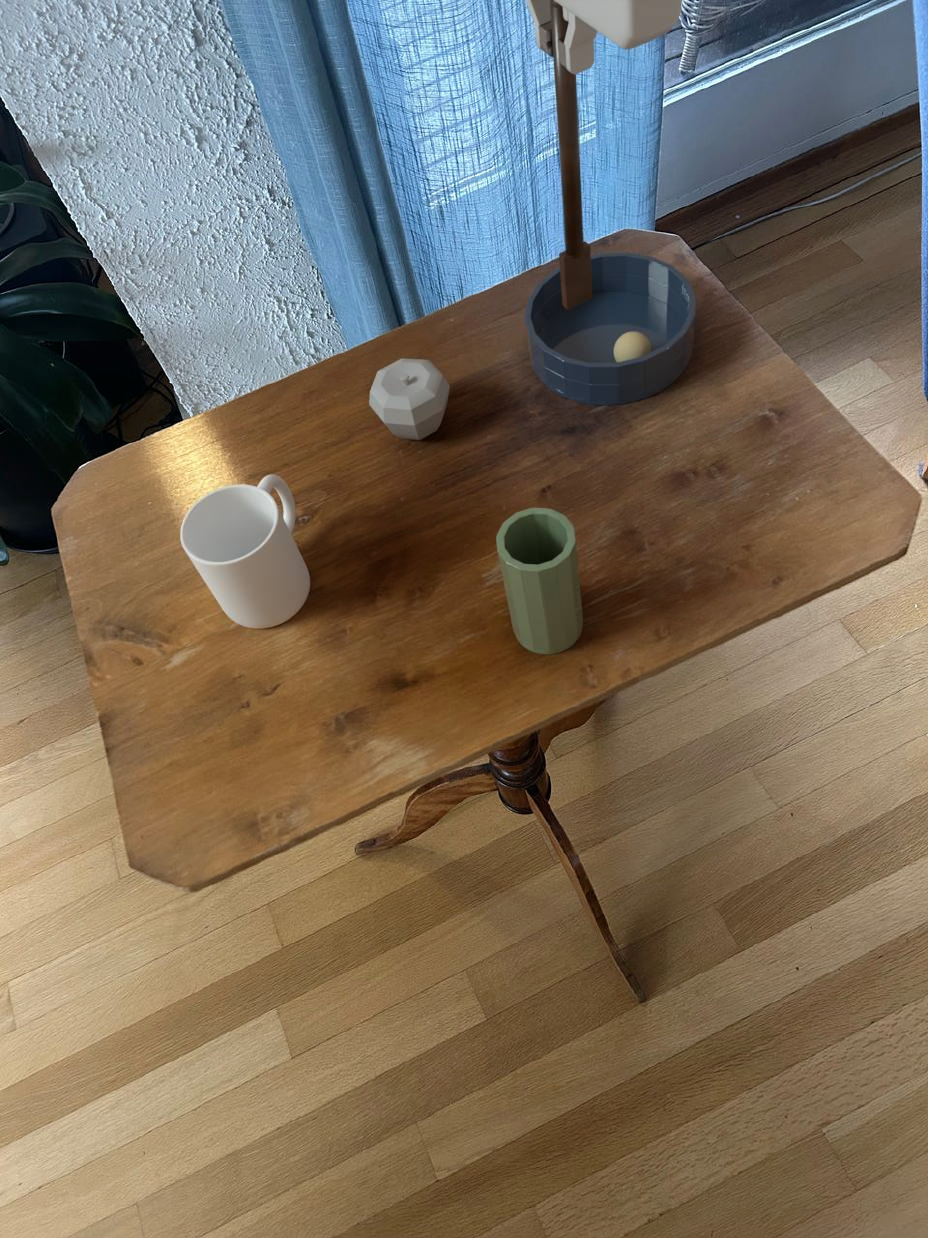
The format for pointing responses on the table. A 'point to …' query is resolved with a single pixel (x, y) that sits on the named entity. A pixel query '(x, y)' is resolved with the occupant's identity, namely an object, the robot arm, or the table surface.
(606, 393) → the bowl
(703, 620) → the table surface
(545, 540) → the crock
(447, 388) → the grey apple
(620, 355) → the dough ball
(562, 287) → the dark wooden dowel
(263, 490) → the cup
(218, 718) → the table surface
